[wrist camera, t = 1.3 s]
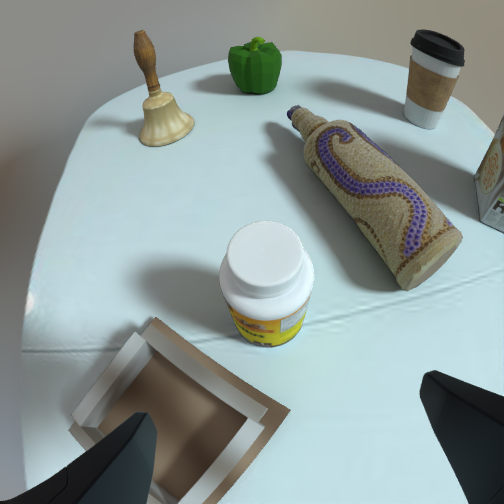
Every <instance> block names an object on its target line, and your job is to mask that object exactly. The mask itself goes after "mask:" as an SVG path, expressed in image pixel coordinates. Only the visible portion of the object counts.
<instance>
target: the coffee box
mask: <svg viewBox="0 0 504 504" xmlns="http://www.w3.org/2000/svg"><path fill="white" fill-rule="evenodd" d="M474 178H475V184H476V190H477V197H478V205H479V214H480V221H481V222H483V223H485V224H487V225H489V226H491V227H493V228H496V229H498V230H500V231H502V232H504V115H503V118H502V120H501V123H500V125H499V127H498V129H497V131H496V134H495V136H494V138H493V140H492V142H491V144H490V146H489V148H488V150H487V152H486V154H485V156H484V158H483V160H482V162H481V164H480V166H479V168H478V170H477V172H476V174H475V175H474Z"/></svg>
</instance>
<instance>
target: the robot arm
mask: <svg viewBox="0 0 504 504" xmlns="http://www.w3.org/2000/svg"><path fill="white" fill-rule="evenodd" d="M420 398H421V401H422V403H423V406H424V408H425V411H426V413H427V416H428V418H429V421H430V424H431V426H432V429H433V431H434V433H435V435H436V437H437V439H438V441H439V443H440V445H441V447H442V449H443V451H444V452H445V454H446V456H447V458H448V460H449V462H450V464H451V467H452V469H453V471H454V473H455V475H456V477H457V479H458V481H459V483H460V485H461V487H462V490H463V492H464V494H465V496H466V498H467V501H468V503H469V504H504V396H501V395H498V394H496V393H493V392H490V391H488V390H485V389H482V388H480V387H477V386H474V385H472V384H469V383H467V382H464V381H462V380H459V379H456V378H454V377H451V376H449V375H446V374H444V373H441V372H439V371H436V370H433V371H430V372H427V373H425V374H424V376H423V379H422V384H421V388H420ZM156 442H157V429H156V426H155V424H154V422H153V420H152V418H151V416H150V414H149V413H148V412H139V411H138V412H135V413H134V414H133V415H131V416H130V417H129V418H128V419H126V420H125V421H124V422H123V423H122V424H120V425H119V426H118V427H117V428H115V429H114V430H113V431H111V432H110V433H109V434H108V435H106V436H105V437H104V438H103V439H101V440H100V441H99V442H97V443H96V444H95V445H94V446H92V447H91V448H90V449H88V450H87V451H86V452H85V453H83V454H82V455H81V456H79V457H78V458H77V459H75V460H74V461H73V462H71V463H70V464H69V465H67V467H64V468H63V469H62V470H60V471H59V472H58V473H56V474H55V475H53V476H52V477H50V478H49V479H47V480H46V481H44V482H42V483H41V484H39V485H37V486H35V487H33V488H32V489H30V490H28V491H26V492H24V493H22V494H20V495H18V496H17V497H15V498H12V499H10V500H6V501H0V504H147V499H148V495H149V490H150V486H151V481H152V476H153V471H154V462H155V452H156Z"/></svg>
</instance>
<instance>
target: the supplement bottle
mask: <svg viewBox="0 0 504 504" xmlns="http://www.w3.org/2000/svg"><path fill="white" fill-rule="evenodd" d="M219 281H220V286H221V290H222V293H223V296H224V298H225V300H226V303H227V305H228V308H229V310H230V313H231V315H232V318H233V320H234V322H235V325H236V327H237V329H238V331H239V332H240V334H241V335H242V336H243V337H244V338H245V339H246V340H247V341H249V342H250V343H252V344H254V345H257V346H260V347H266V348H272V347H278V346H281V345H284V344H286V343H287V342H289V341H290V340H292V339H293V338H294V337H295V336H296V335H297V333H298V332H299V330H300V329H301V326H302V324H303V321H304V317H305V314H306V310H307V307H308V303H309V299H310V296H311V292H312V288H313V284H314V268H313V264H312V261H311V259H310V257H309V255H308V253H307V252H306V250H305V249H304V248H303V246H302V243H301V240H300V239H299V237H298V236H297V235H296V233H295V232H294V231H293V230H291V229H290V228H289V227H287V226H285V225H283V224H281V223H278V222H273V221H258V222H254V223H251V224H248V225H246V226H244V227H243V228H241V229H240V230H239V231H237V232H236V233H235V234H234V236H233V237H232V239H231V240H230V242H229V245H228V248H227V253H226V255H225V257H224V259H223V261H222V263H221V267H220V272H219Z"/></svg>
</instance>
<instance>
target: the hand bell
mask: <svg viewBox="0 0 504 504" xmlns="http://www.w3.org/2000/svg"><path fill="white" fill-rule="evenodd" d="M134 55H135V58H136V61H137V63H138V65H139V67H140V68H141V70H142V71H143V73H144V75H145V79H146V83H147V86H148V91H149V97H148V98H147V99H146V100H145V101H144V102H143V111H144V119H145V122H144V127H143V128H142V130H141V133H140V140H141V142H142V143H143V144H144V145H147V146H163V145H167V144H170V143H173V142H175V141H178V140H180V139H181V138H183V137H184V136H186V135H187V134H188V133H189V132H190V131H191V130H192V128H193V126H194V119H193V118H192V117H191V116H190V115H189V114H187V113H184V112H183V111H182V110H181V109H180V108H179V107H178V105H177V103H176V101H175V99H174V96H173V95H172V94H171V93H168V92H162V91H161V88H160V84H159V81H158V78H157V75H156V69H155V65H156V55H155V50H154V46H153V44H152V42H151V40H150V39H149V37H148V36H147V35H146V33H145V31H144V30H141V31H137V32H135V34H134Z"/></svg>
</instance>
